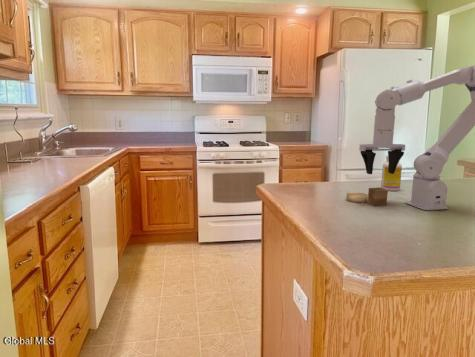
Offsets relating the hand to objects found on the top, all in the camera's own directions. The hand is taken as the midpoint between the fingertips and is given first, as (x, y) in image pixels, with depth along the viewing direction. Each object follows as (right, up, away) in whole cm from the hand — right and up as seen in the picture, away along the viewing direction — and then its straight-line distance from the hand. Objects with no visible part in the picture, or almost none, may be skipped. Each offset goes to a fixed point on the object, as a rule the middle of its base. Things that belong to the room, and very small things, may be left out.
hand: (380, 173), depth 112 cm
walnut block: (-1, -10, -1) cm, 10 cm away
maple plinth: (-6, -9, +4) cm, 11 cm away
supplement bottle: (+13, -6, +22) cm, 26 cm away
